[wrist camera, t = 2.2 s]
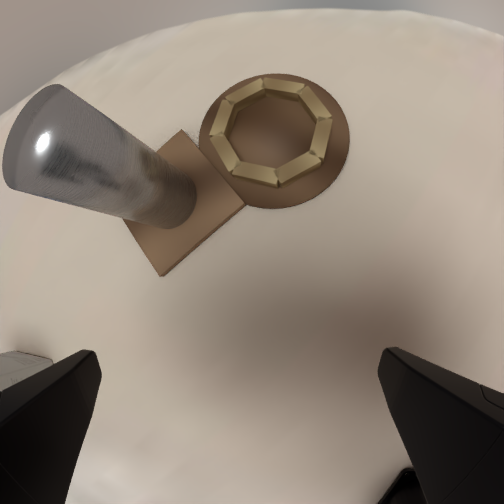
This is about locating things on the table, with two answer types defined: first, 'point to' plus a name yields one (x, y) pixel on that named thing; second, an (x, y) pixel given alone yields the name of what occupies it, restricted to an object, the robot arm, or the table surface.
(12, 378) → the skincare box
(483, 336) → the table surface
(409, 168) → the table surface
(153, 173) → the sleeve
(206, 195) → the stand pad
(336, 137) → the hub seat
